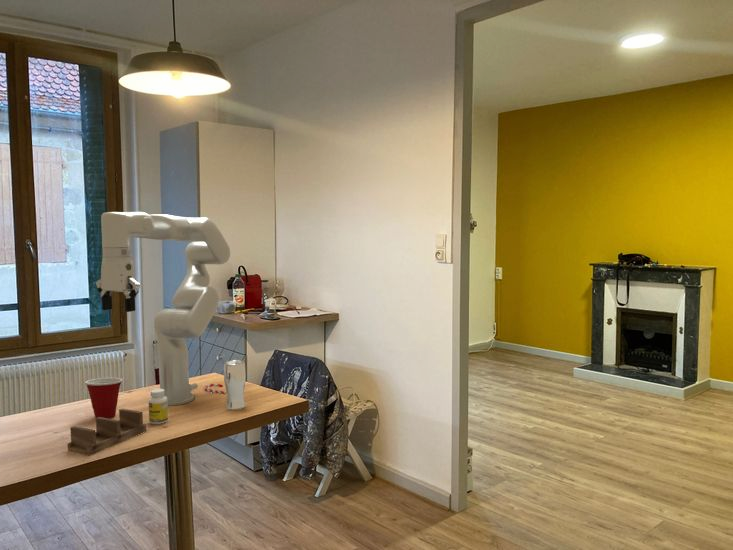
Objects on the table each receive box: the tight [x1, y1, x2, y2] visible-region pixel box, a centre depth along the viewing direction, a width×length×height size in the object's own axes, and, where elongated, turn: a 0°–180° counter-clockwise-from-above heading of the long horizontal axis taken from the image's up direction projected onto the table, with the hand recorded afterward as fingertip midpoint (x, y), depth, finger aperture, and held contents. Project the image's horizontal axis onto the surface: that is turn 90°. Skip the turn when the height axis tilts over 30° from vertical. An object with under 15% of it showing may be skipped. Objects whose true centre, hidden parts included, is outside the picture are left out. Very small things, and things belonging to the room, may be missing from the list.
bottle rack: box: [66, 408, 147, 457], centre depth 166 cm, size 20×8×6 cm, turn 155°
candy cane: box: [203, 383, 227, 395], centre depth 215 cm, size 8×1×15 cm
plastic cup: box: [84, 377, 123, 419], centre depth 186 cm, size 11×11×12 cm
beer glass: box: [223, 359, 247, 411], centre depth 195 cm, size 7×7×15 cm
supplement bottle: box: [148, 388, 169, 425], centre depth 181 cm, size 5×5×10 cm
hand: (118, 310), depth 179 cm, fingers open, 9 cm apart
